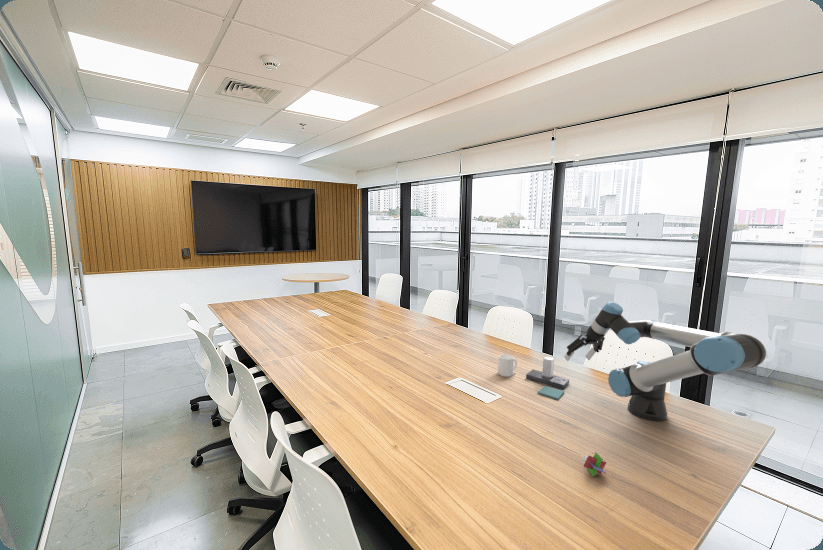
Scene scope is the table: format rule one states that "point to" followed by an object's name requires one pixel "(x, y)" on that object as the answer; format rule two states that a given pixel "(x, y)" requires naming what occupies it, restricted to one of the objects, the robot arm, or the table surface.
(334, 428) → the table surface
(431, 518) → the table surface
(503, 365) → the mug
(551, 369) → the steel peg
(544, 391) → the teal mat
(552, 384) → the block
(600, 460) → the geometric puzzle
